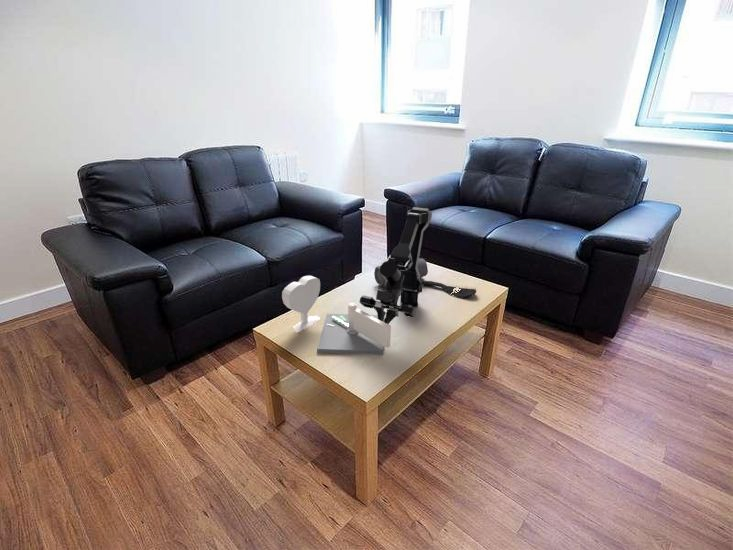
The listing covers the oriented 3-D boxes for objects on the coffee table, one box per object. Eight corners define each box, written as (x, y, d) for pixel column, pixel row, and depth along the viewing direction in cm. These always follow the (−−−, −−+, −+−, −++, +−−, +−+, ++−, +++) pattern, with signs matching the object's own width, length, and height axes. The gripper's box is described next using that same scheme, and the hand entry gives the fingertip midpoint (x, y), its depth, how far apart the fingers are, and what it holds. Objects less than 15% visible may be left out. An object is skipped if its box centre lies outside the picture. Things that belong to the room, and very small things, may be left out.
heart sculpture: (314, 312, 151) (311, 271, 143) (323, 317, 149) (321, 275, 141) (284, 331, 140) (279, 287, 132) (294, 335, 137) (289, 291, 130)
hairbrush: (424, 274, 176) (479, 285, 163) (424, 282, 177) (478, 293, 165) (416, 282, 169) (473, 293, 157) (416, 289, 171) (472, 301, 159)
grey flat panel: (384, 318, 147) (384, 314, 146) (383, 354, 128) (383, 349, 127) (327, 317, 148) (326, 312, 148) (317, 352, 129) (316, 347, 128)
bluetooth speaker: (382, 291, 167) (382, 270, 162) (373, 282, 175) (373, 262, 170) (427, 282, 175) (429, 261, 170) (417, 273, 182) (418, 254, 178)
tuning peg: (329, 319, 143) (328, 295, 139) (335, 316, 145) (334, 292, 141) (385, 351, 125) (386, 325, 121) (391, 347, 127) (392, 322, 123)
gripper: (361, 274, 128) (347, 318, 124) (415, 284, 122) (402, 331, 118) (370, 284, 138) (357, 326, 134) (420, 295, 132) (409, 339, 127)
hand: (380, 330), depth 128 cm, fingers closed
